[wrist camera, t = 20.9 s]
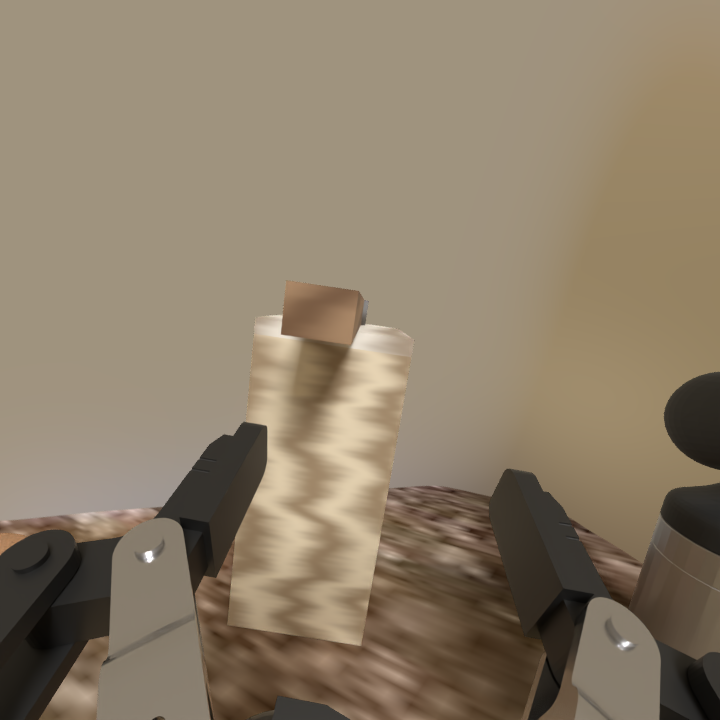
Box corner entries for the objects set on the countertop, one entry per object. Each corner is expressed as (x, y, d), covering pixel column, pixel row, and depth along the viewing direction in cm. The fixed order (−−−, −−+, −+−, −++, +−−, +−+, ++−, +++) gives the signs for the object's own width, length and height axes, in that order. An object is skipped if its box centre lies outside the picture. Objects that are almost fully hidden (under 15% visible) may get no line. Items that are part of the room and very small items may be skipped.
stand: (363, 536, 49) (398, 328, 44) (361, 645, 33) (414, 340, 28) (273, 522, 49) (296, 313, 44) (227, 625, 33) (255, 316, 28)
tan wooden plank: (365, 324, 43) (368, 301, 42) (360, 346, 18) (367, 292, 17) (328, 318, 43) (331, 295, 42) (271, 333, 18) (277, 278, 17)
